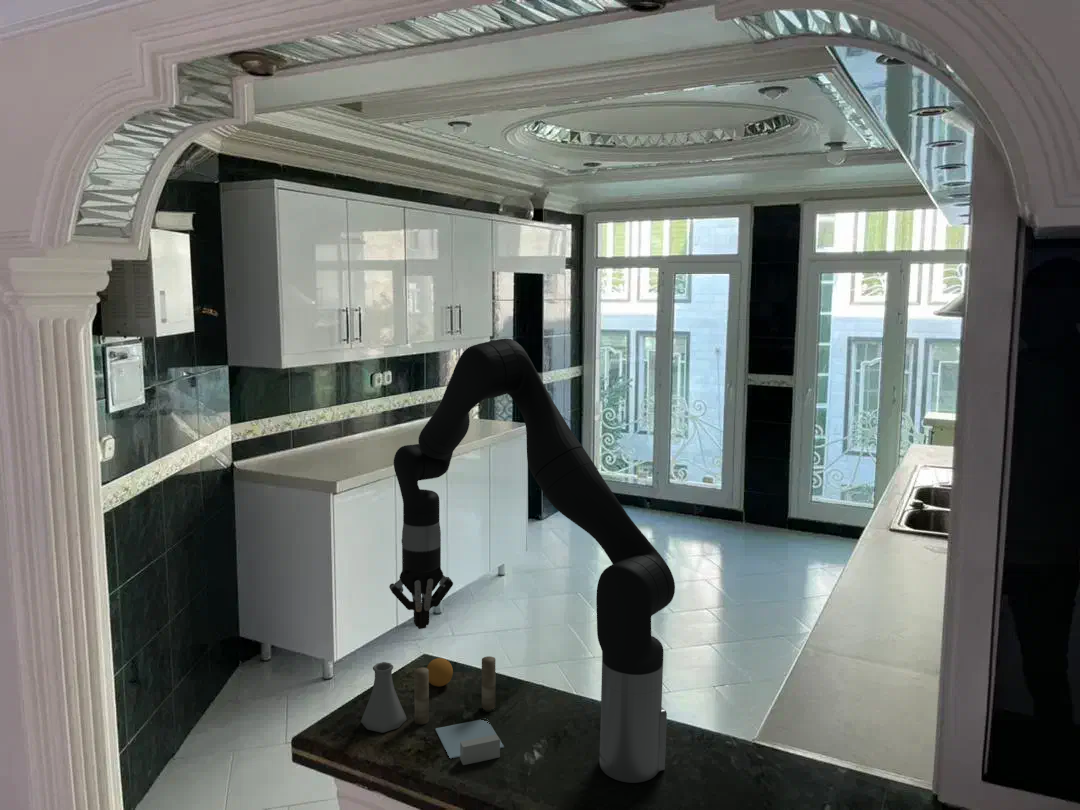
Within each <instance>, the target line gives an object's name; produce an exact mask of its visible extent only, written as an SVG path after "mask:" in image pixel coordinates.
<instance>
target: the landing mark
mask: <svg viewBox="0 0 1080 810" xmlns="http://www.w3.org/2000/svg"><path fill="white" fill-rule="evenodd" d="M488 721H489V720H488ZM488 721H484V720H481V719H476V720H472V721H465V722H462V723H456V724H451V725H447V726H442V727H441V726H440V727H437V728H434V729H435V732H436V734H437V735H438V738H439V740H440V743H441V745H442V747H443V749H444V750H446V751H445V753H446V752H447V753H446V754H447V756H449V757H448V759H449V758H450V760H451V759H452V758H453V759H456V758H457V759H458V758H460V742H461V741H466V740H471V739H476V738H481V737H486V736H491V735H495V734H497V733H496V731H495V730H494V728H493V725H491V723H490V722H488ZM487 722H488V723H487ZM489 723H490V724H489ZM504 748H505V746H504V744H503V743H502V740H500V749H504ZM453 759H452V760H453Z"/></svg>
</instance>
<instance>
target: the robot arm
mask: <svg viewBox="0 0 1080 810" xmlns="http://www.w3.org/2000/svg"><path fill="white" fill-rule="evenodd" d="M505 395H509V397H510V398H511V399H512V400H513V402H514V403H515V405H516V407H517V408H518V411H519V412H520V414H521V416H522V418H523V421H524V424H525V425H524V426H525V433H526V458H527V459H526V460H527V464H528V468H529V471H530V473H531V475H532V477H533V479H534V480H535V482H536V483H537V485H538V487H540V490H541V491H542V493H543V495H544V496H545V497H546V499H547V501H548V502H549V503H550V504H551V505H552V507H553V508H555V509H556V510H557V511H558V512H559V513H560V514H562V516H564V517H566V519H568V520H570V521H571V522H573V523H574V524H575V525H577V526H578V527H579V528H581V529H582V530H583V531H585V532H586V533H587V534H589V535H590V536H591V537H592V538H593V539H594V540H595V541H596V542H597V543H598V544H599V546H600V547H601V548H602V550H603V551H604V553H605V554H606V556H607V557H608V559H609V560H610V562H611V564H610V565H609V566H607V567H606V568H605V569H604V570H603V571H602V573H600V576H599V579H598V582H597V587H596V599H595V601H596V602H595V605H596V632H597V633H596V634H597V641H598V645H599V646H600V648H601V686H600V687H601V692H600V693H601V694H600V695H601V696H600V697H601V699H600V729H599V730H600V732H599V733H600V734H599V735H600V737H599V752H598V753H599V767H600V769H601V772H603V773H604V774H605V776H608V777H610V778H612V779H614V780H616V781H619V782H622V783H628V784H629V783H633V784H637V783H643V782H647V781H649V780H651V779H653V778H655V776H657V774H658V773H659V772H661V771H664V770H665V769H666V768H665V767H666V750H667V749H666V746H667V717H668V716H667V715H668V713H667V710H666V709H665V708H663V707H662V706H663V704H662V701H663V679H664V678H663V677H664V676H663V675H664V647H663V644H662V643H661V641H660V640H659V639H658V638H657V637H655V636H653V635H652V616H653V615H654V616H655V615H656V614H657V613H659V612H660V611H661V610H663V609H665V608H666V607H667V606H669V605H670V603H671V602H672V601H673V598H674V597H675V592H676V583H675V579H674V576H673V573H672V571H671V569H670V567H669V565H668V564H667V562H666V560H665V559H664V558H663V556H662V555H661V554H660V553H659V552H658V550H657V549H656V548H655V547H654V545H653V544H652V543H651V542H650V541H649V539H648V538H647V537H646V535H645V534H643V532H642V531H641V530H640V529H639V527H638V526H637V525H636V523H635V522H634V521H633V520H632V519H631V517H630V516H629V515H628V513H627V511H626V510H625V509H624V507H623V506H622V504H621V502H620V501H619V500H618V498H617V497H616V495H615V494H614V491H612V489H611V488H610V487H609V485H608V484H607V482H606V481H605V478H603V476H602V474H601V473H600V472H599V470H598V468H597V466H596V465H595V463H594V461H593V460H592V458H591V457H590V456H589V454H588V453H587V451H586V450H585V448H584V447H583V445H582V444H581V442H580V441H579V440H578V439H577V436H576V435H575V434H574V432H573V431H572V430H571V428H570V427H569V424H568V423H567V422H566V420H565V418H564V417H563V416H562V414H561V412H560V410H559V408H558V407H557V406H556V403H555V402H554V400H553V398H552V397H551V395H550V394H549V392H548V390H547V388H546V386H545V384H544V382H543V380H542V379H541V376H540V374H539V372H538V370H537V369H536V368H535V365H534V363H533V362H532V359H531V357H529V354H528V353H527V351H526V350H525V348H524V347H523V346H522V345H521V344H519V342H517V341H515V340H514V339H512V338H499V339H498V338H497V339H493V340H491V341H490V340H489V341H485V342H481V343H477V344H474V345H470V346H469V347H467V348H466V349H465V350H464V351H463V352H462V353H461V355H460V357H459V358H458V360H457V362H456V365H455V367H454V369H453V372H452V374H451V376H450V379H449V381H448V384H447V385H446V388H445V391H444V393H443V396H442V398H441V401H440V403H439V404H438V406H437V408H436V410H435V411H434V413H433V414H432V415H431V417H430V418H429V420H428V421H427V422H426V424H425V425H424V426H423V428H422V430H421V431H420V433H419V436H418V443H416V444H415V443H414V444H406V445H403V446H401V447H398V449H397V451H396V452H395V454H394V457H393V469H394V472H395V473H394V474H395V476H396V480H397V482H398V486H399V489H400V494H401V495H400V496H401V499H402V503H403V505H402V507H403V508H402V509H403V510H402V511H403V512H402V513H403V515H402V516H403V518H402V519H403V520H402V521H403V524H402V533H401V553H402V554H401V558H402V559H401V563H402V564H401V566H402V567H401V568H402V569H401V572H400V575H399V579H398V580H397V581H396V582H395V583H394V582H393V583H390V584H389V586H388V588H389V589H390V591H391V593H392V594H393V595H394V597H395V598H397V599H398V601H399V602H400V604H402V605H403V606H404V607H405V609H406V610H408V611H413V624H414V625H415V627H416V628H418V630H422V629H427V626H429V624H430V610H431V608H433V607H439V605H440V604H441V603H442V601H443V599H444V598H445V597H446V595H447V594H448V593H449V591H450V590H451V589H452V587H453V585H454V582H453V580H452V579H451V578H450V577H449V576H445V575H444V572H443V570H442V568H441V567H442V563H441V560H442V559H441V558H442V557H441V553H442V552H441V551H442V549H441V547H442V542H441V541H442V540H441V539H442V538H441V537H442V535H441V533H442V531H441V524H440V496H439V494H438V493H437V492H435V491H434V490H429V489H421V488H420V487H419V484H418V483H419V482H420V481H425V480H433V479H437V478H441V477H442V476H443V475H444V474H446V473H447V472H448V470H449V468H450V465H451V462H452V461H451V460H452V457H453V454H454V451H455V450H456V448H457V447H458V446H459V445H460V443H461V442H462V441H463V440H464V438H465V437H466V435H467V433H468V431H469V428H470V422H471V421H470V411H471V410H472V409H473V408H474V407H476V406H477V405H479V404H480V403H481V402H482V401H484V400H488V399H489V400H490V399H494V398H497V397H501V396H505ZM438 585H439V586H438ZM403 586H404V587H405V588H406V589H407V590H408V591H409V593H410V594H411V597H412V601H411V600H410V599H409V598H408V597H407V596H406V595H405V594H404V593H403V592H404V587H403ZM437 586H438V587H437ZM435 589H436V590H435ZM433 592H434V593H433Z"/></svg>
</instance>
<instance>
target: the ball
mask: <svg viewBox="0 0 1080 810" xmlns="http://www.w3.org/2000/svg"><path fill="white" fill-rule="evenodd" d="M426 668H427V669H428V670H429V684H431V685H432V686H433V687H443V686H445V685H448V683H449V682H451V680H452V678H453V675H454V670H453V666H452V664H451V662H450V660H448V659H445V658H443V657H437V658H434V659H432V660H431V661H430V662H428V664H427V666H426Z"/></svg>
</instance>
